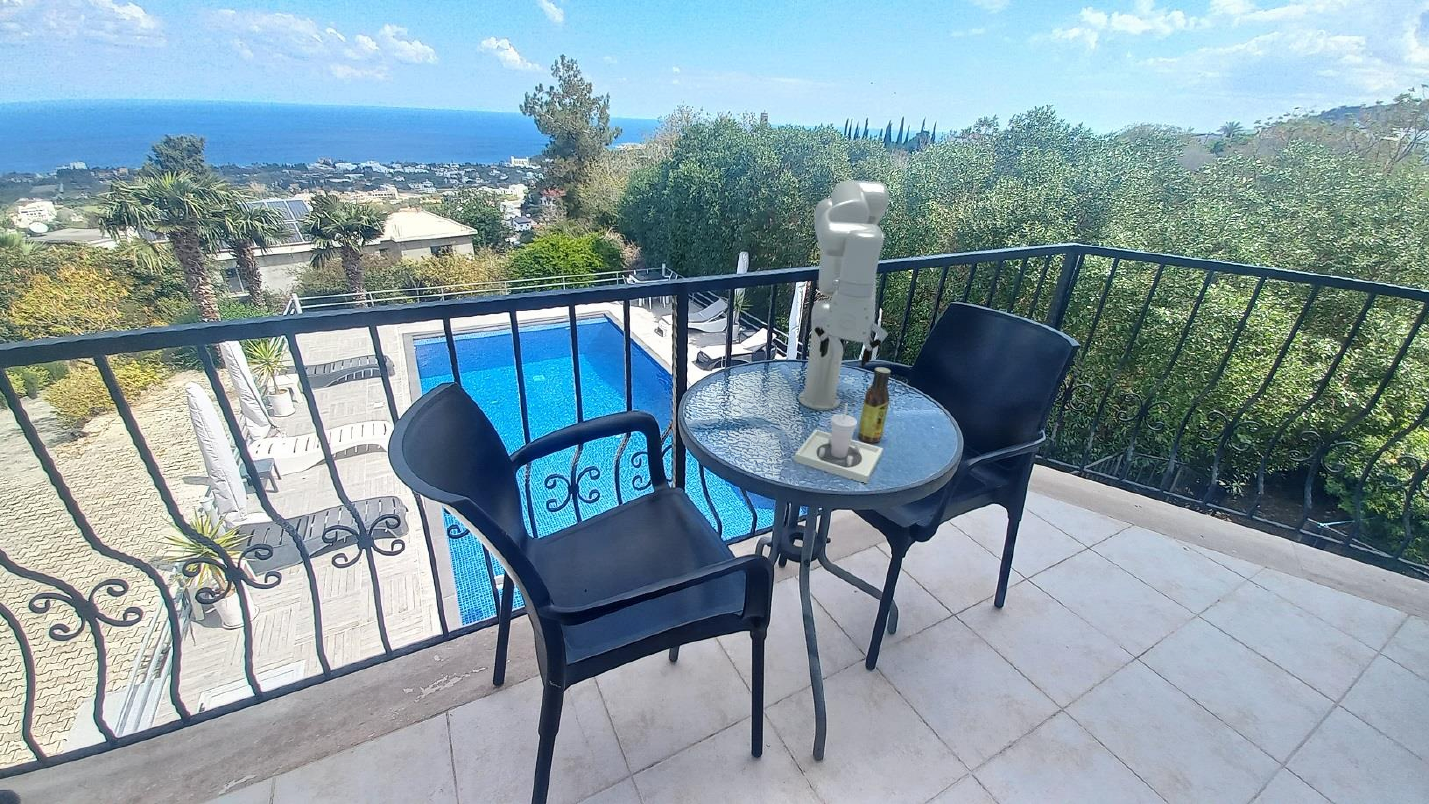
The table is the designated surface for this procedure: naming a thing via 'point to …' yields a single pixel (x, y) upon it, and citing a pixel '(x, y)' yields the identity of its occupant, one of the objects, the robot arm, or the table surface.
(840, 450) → the smoothie
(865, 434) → the sauce bottle
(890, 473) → the table surface
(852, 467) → the pin tray
